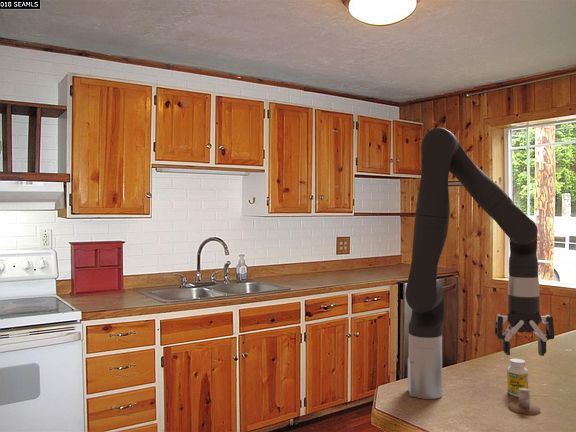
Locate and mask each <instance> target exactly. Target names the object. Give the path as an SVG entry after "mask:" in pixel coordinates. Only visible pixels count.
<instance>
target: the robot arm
mask: <svg viewBox="0 0 576 432" xmlns="http://www.w3.org/2000/svg"><path fill="white" fill-rule="evenodd" d="M420 146H421V147H420V150H421V151H420V154H421V156H420V157H421V158H420V159H421V160H420V161H421V166H420V168H421V169H420V171H421V172H420V183H419V188H418V193H417V200H416V208H415V215H414V216H415V217H414V227H413V236H412V237H413V238H412V249H411V251H412V252H411V253H412V254H411V255H412V256H411V261H410V262H411V264H410V268H409V273H408V277H407V284H406V286H405V295H404V296H405V300H406V303H407V305H408V307H410V309H411V311H412V312H411V317H410V320H409V323H408V357H407V391H408V393H409V396H410V397H414V398H418V399H422V400H423V399H424V400H435V399H440V398H441V397H442V396H443V327H444V322H445V321H444V320H445V292H444V288H443V285H442V284H441V282H440V281H439V280H438V279H437V276H438V265H439V261H440V257H441V255H442V252H443V249H444V246H445V244H446V240H447V237H448V232H449V224H450V223H449V222H450V209H451V208H450V191H449V174H452V175H453V177H454V178H456V179H457V180H458V182H459V183H460V184H461V186H463V188H464V190H465V191H467V193H468V194H469V195H470V197H471V198H472V199H473V200H474V202H475V203H476V204H478V206H479V207H480V208H481V209H482V210H483V212H485V213H486V214H487V216H489V217H490V218H491V219H492V220H494V221H495V223H496V224H497V225H498V227H499V228H500V229H501V230H502V231H503V232H504V234H505V235H506V236H507V237H508V239H509V259H508V280H507V282H508V283H507V305H508V306H507V308H508V309H507V311H508V312H507V315H501V314H499V313H497V314H496V315H495V318H494V319H495V320H494V322H495V323H494V336H495V337H496V338H497V339H500V340H501V342H502V343H501V344H502V345H501V348H502V349H501V350H502V351H503V353H504V354H505V355H506V356H511V341H510V339H512V337H513V336H514V335H516V333H517V332H518V333H520V334H521V333H528V334H529V333H530V334H531V333H534V334H535V335H536V337H537V338H538V340H537V348H538V350H537V353H538V354H537V355H539V356H540V357H543V356H545V354H547V342H548V341H550V340H554V339H555V327H554V318H553V316H552V315H550V314H545V315H541V314H540V313H541V310H540V308H541V307H540V304H541V303H540V282H539V263H538V262H539V261H538V260H539V259H538V256H537V255H538V253H537V252H538V231H539V230H538V226H537V224H536V222H535V221H534V220H533V219H531V218H530V217H529V216H528V215H526V214H525V212H523V211H522V210H521V209H520V208H519V207H518V206H517V205H516V204H515V203H514V201H513V200H512V199H511V197H510V196H509V195H508V194H507V193H506V192H505V191H504V190H503V189H502V188H501V187H500V186H499V185H498V184H497V183H496V182H495V181H494V180H493V179H491V177H489V175H487V174H486V173H485V172H484V171H483V170H482V169H481V168H480V167H478V165H476V163H475V162H474V161H473V160H472V159H471V158H470V156H469V155H468V154H467V152H466V151H465V150H464V148H463V147H462V145H461V144H460V142H459V141H458V138H457V136H456V135H455V134H454V133H453V132H451V131H450V130H449V129H446V128H444V127H433V128H432V129H430V130H429V131H427V132H426V134H425V135H424V136H423V138H422V141H421V145H420ZM506 321H507V322H508V323H509V324H508V325H507V327H506V328H505V331H504V332H503V326H504V324H505V323H506ZM541 322H542V324H544V328H545V333H543V331H542V330H541V329H540V327H539V324H540V323H541Z"/></svg>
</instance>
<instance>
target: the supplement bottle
mask: <svg viewBox="0 0 576 432" xmlns="http://www.w3.org/2000/svg"><path fill="white" fill-rule="evenodd" d="M509 365H510V366H508V367H507V374H506V375H507V376H506V377H507V393H508V394H509V395H510V396H513V397H517V398H519V388H526V389H529V371H528V369H527V368H526V361H525V359H521V358H511V359H509Z"/></svg>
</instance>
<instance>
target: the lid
mask: <svg viewBox="0 0 576 432" xmlns="http://www.w3.org/2000/svg"><path fill="white" fill-rule="evenodd" d="M530 398H531V396H530V389H529V388H528V389H526V388H519V397H518V400H517V401H511V402H509V403H508V409H509V410H510V411H511V412H514V413H516V414H519V415H527V416H533V415H539V414H540V413H541V407H540V406H539V405H537V404H534V403H532V402H530V400H531V399H530Z"/></svg>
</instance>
